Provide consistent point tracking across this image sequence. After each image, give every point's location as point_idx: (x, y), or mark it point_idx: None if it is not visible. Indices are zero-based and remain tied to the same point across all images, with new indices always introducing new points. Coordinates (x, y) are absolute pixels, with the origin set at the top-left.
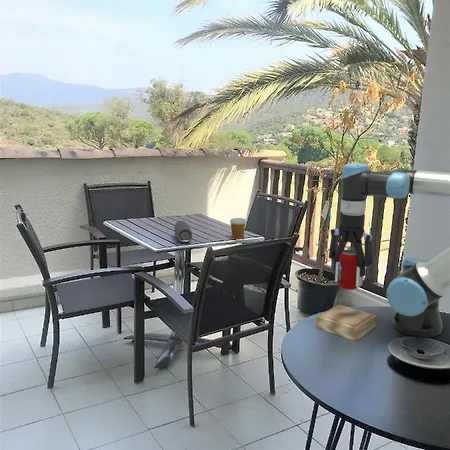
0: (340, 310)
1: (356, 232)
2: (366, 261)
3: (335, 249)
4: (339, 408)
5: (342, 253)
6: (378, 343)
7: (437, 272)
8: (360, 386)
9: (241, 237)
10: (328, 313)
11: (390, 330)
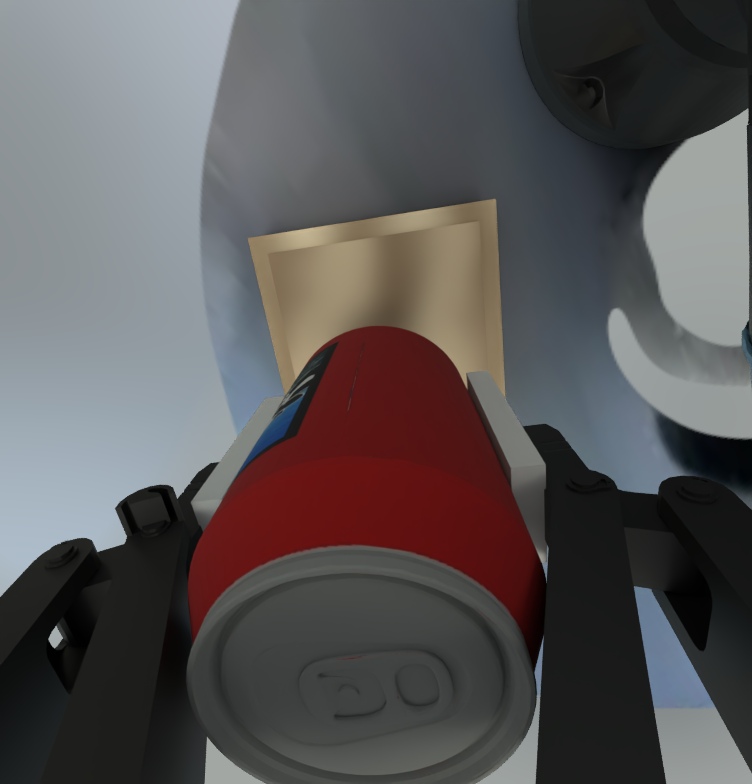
0: (320, 312)
1: None
2: (705, 633)
3: (28, 685)
4: (657, 706)
5: (297, 769)
6: (576, 348)
7: None
8: (657, 615)
9: None
10: None
11: (557, 172)
